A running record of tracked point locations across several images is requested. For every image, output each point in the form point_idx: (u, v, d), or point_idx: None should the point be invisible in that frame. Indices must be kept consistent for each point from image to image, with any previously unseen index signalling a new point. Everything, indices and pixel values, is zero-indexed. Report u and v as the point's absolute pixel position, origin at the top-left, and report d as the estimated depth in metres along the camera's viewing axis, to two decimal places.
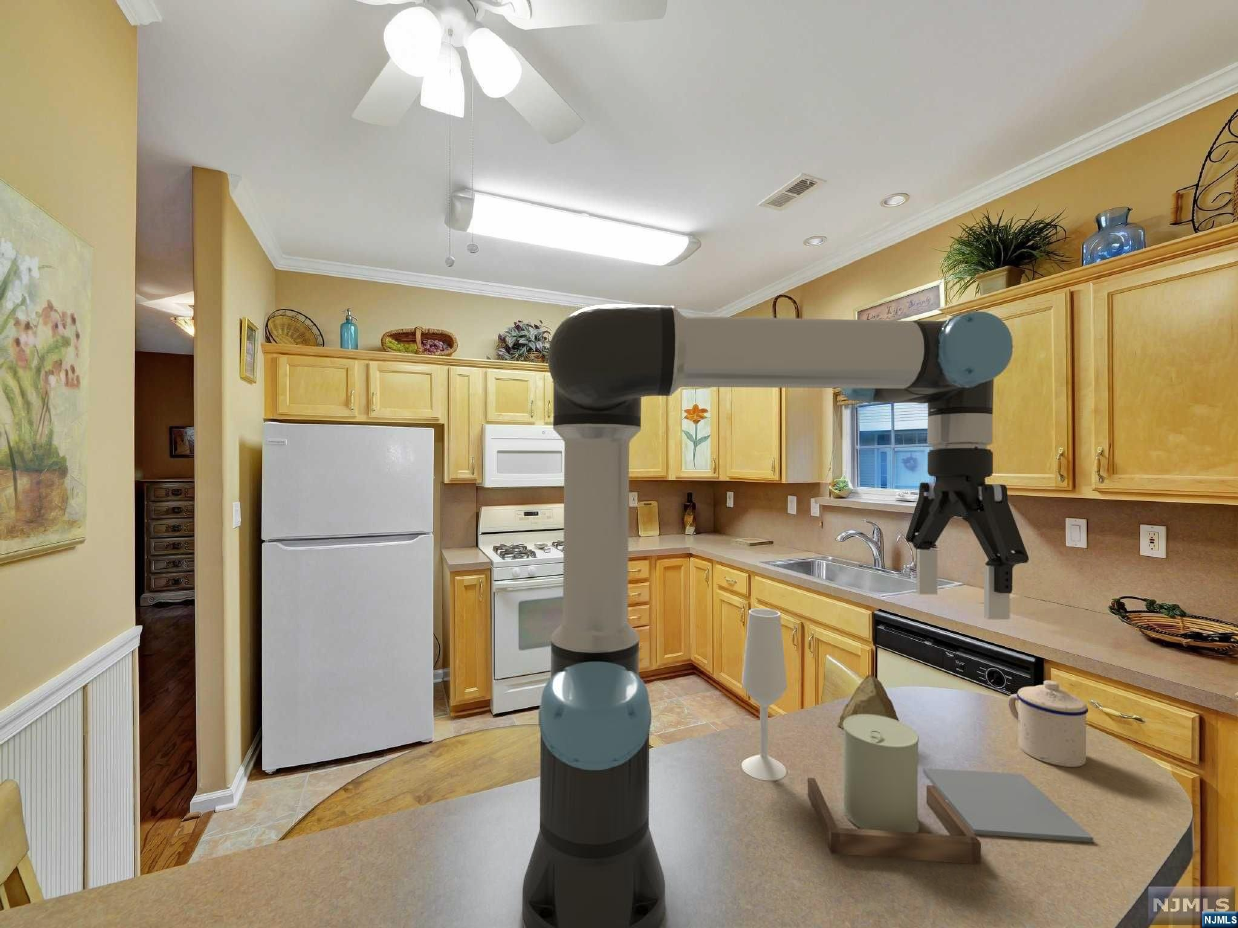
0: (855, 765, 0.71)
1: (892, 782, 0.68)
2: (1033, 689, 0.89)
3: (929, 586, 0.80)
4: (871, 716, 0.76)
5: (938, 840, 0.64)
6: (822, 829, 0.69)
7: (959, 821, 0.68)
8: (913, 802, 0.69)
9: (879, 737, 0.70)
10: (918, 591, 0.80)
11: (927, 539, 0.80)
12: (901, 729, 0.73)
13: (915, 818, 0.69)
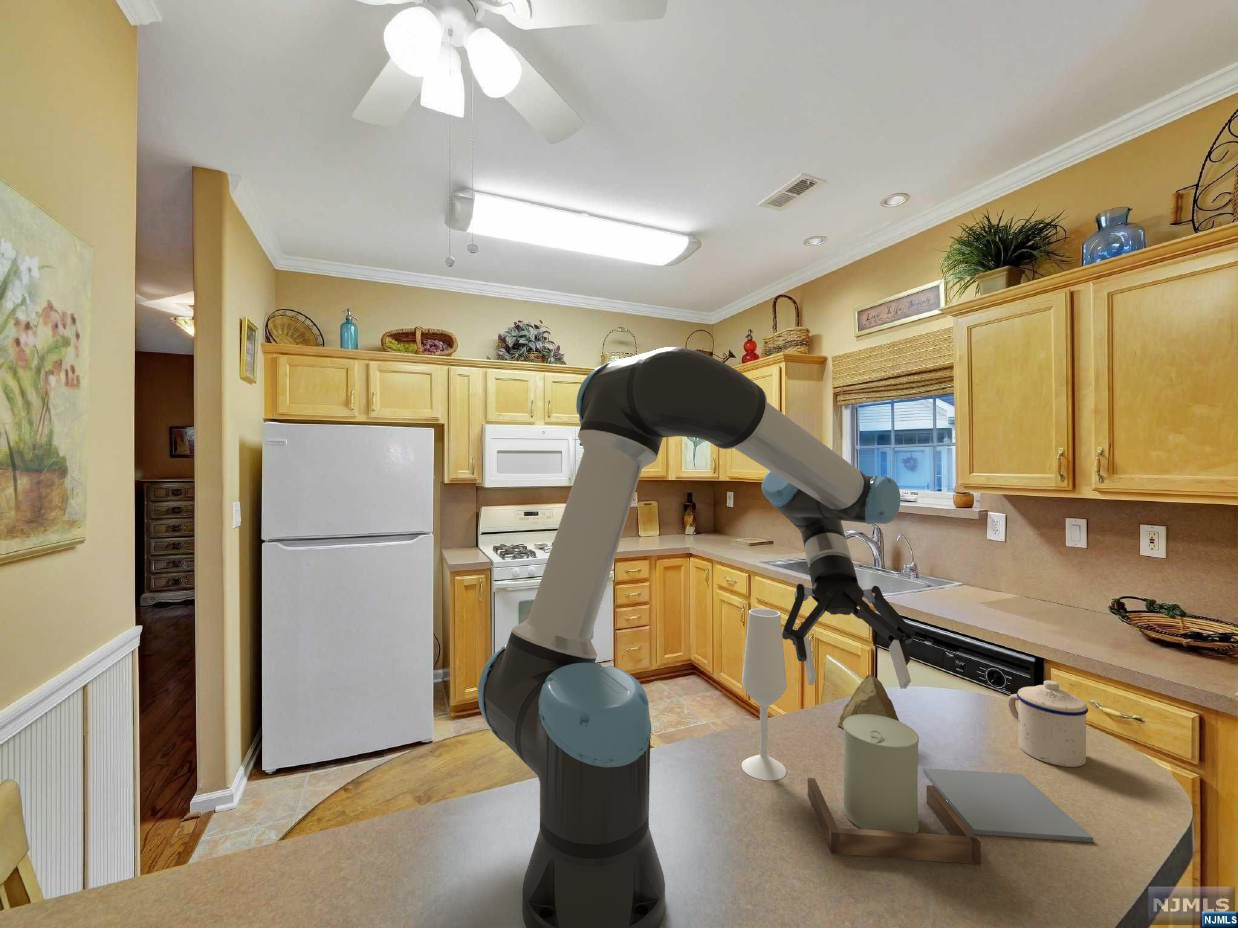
0: (855, 765, 0.71)
1: (892, 782, 0.68)
2: (1033, 689, 0.89)
3: None
4: (871, 716, 0.76)
5: (938, 840, 0.64)
6: (822, 829, 0.69)
7: (959, 821, 0.68)
8: (913, 802, 0.69)
9: (879, 737, 0.70)
10: (814, 674, 0.82)
11: (807, 630, 0.88)
12: (901, 729, 0.73)
13: (915, 818, 0.69)
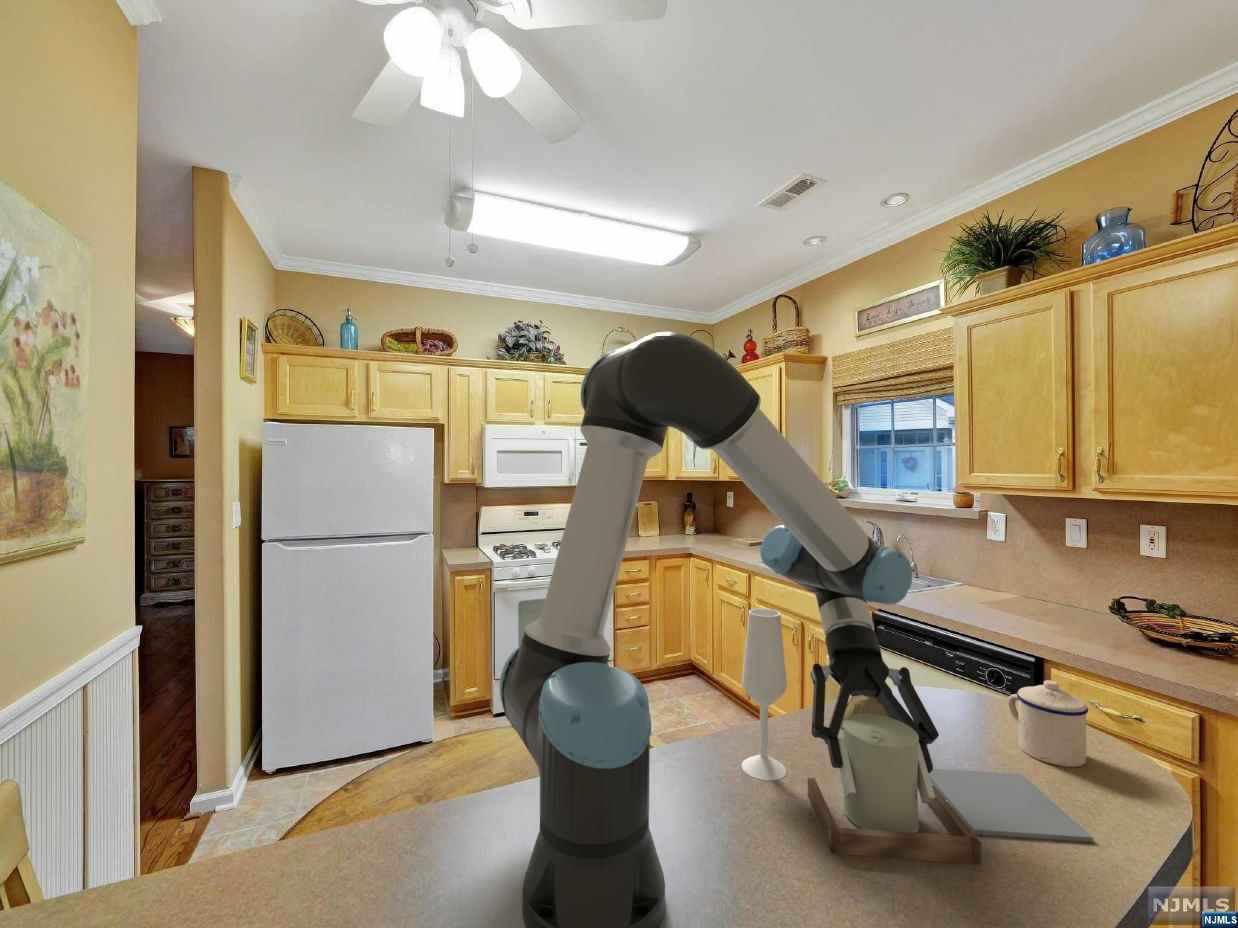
0: (855, 765, 0.71)
1: (892, 782, 0.68)
2: (1033, 689, 0.89)
3: None
4: (871, 716, 0.76)
5: (938, 840, 0.64)
6: (822, 829, 0.69)
7: (959, 821, 0.68)
8: (913, 802, 0.69)
9: (879, 737, 0.70)
10: (853, 789, 0.69)
11: None
12: (901, 729, 0.73)
13: (915, 818, 0.69)
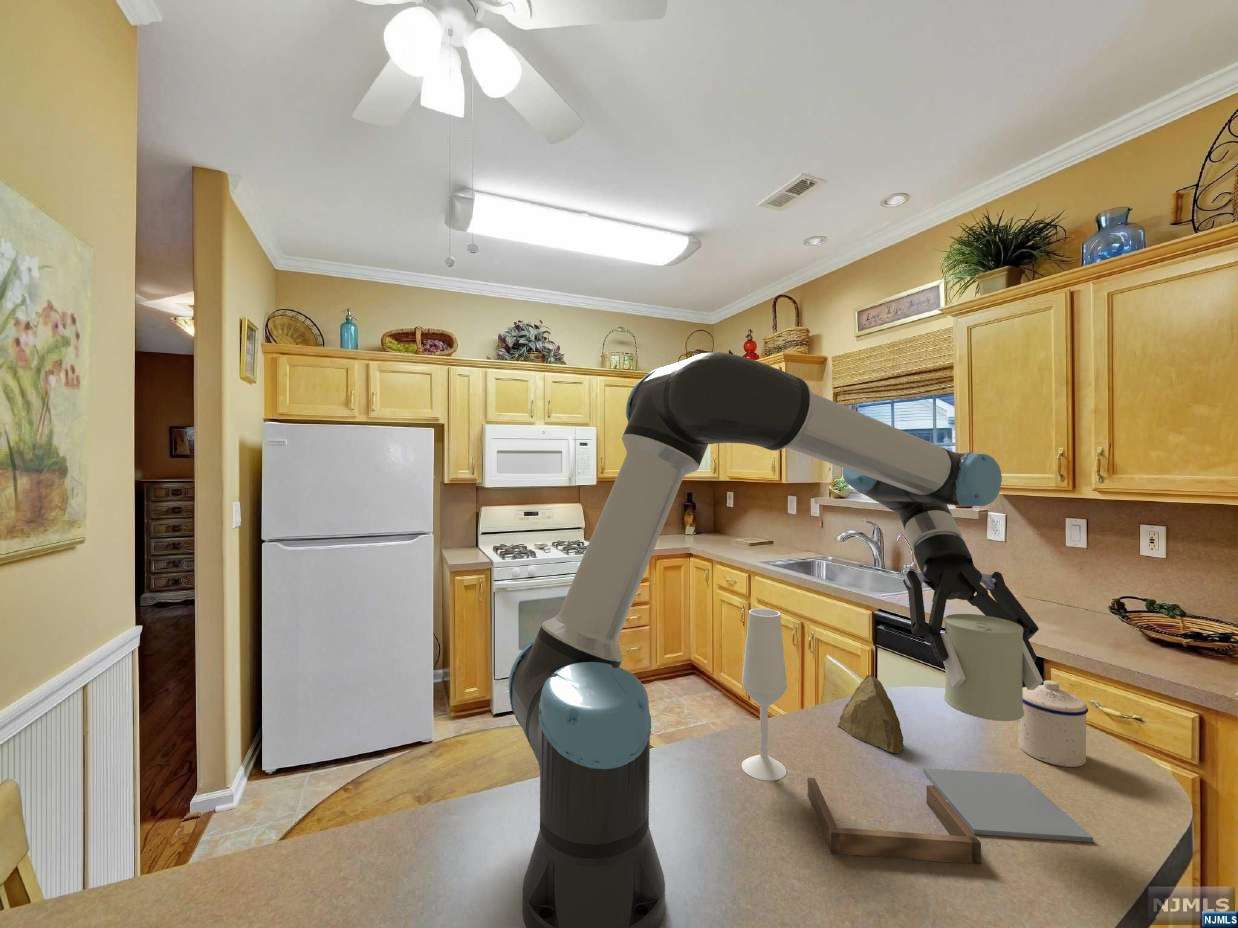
0: (961, 655, 0.73)
1: (1001, 667, 0.71)
2: None
3: None
4: (969, 615, 0.79)
5: (938, 840, 0.64)
6: (822, 829, 0.69)
7: (959, 821, 0.68)
8: (1020, 687, 0.72)
9: (985, 626, 0.73)
10: (962, 676, 0.72)
11: None
12: (1002, 622, 0.75)
13: (1021, 703, 0.72)
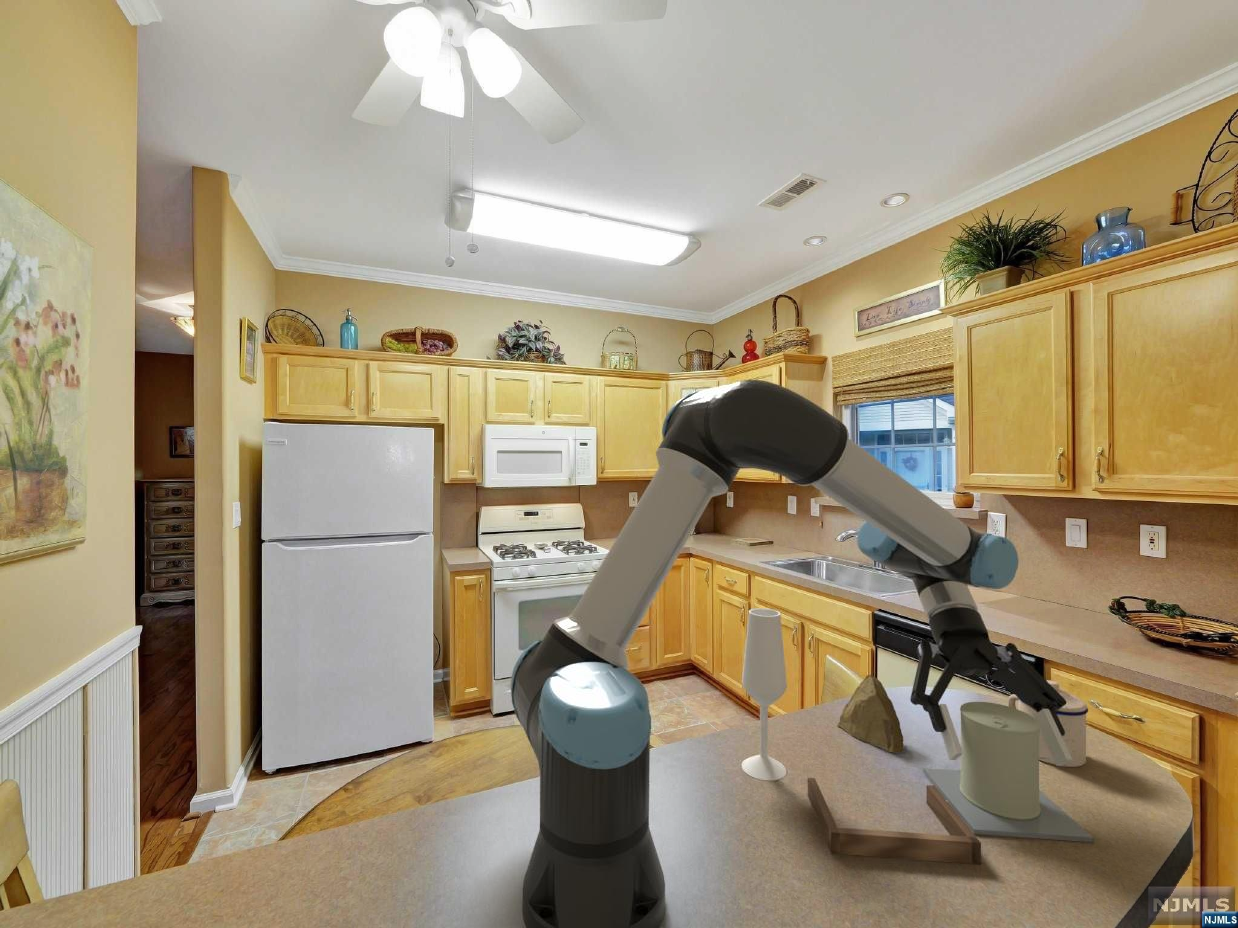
0: (978, 750, 0.74)
1: (1018, 765, 0.71)
2: None
3: None
4: (984, 703, 0.79)
5: (938, 840, 0.64)
6: (822, 829, 0.69)
7: (959, 821, 0.68)
8: (1037, 785, 0.72)
9: (1002, 722, 0.73)
10: (960, 750, 0.73)
11: None
12: (1019, 715, 0.76)
13: (1038, 800, 0.72)
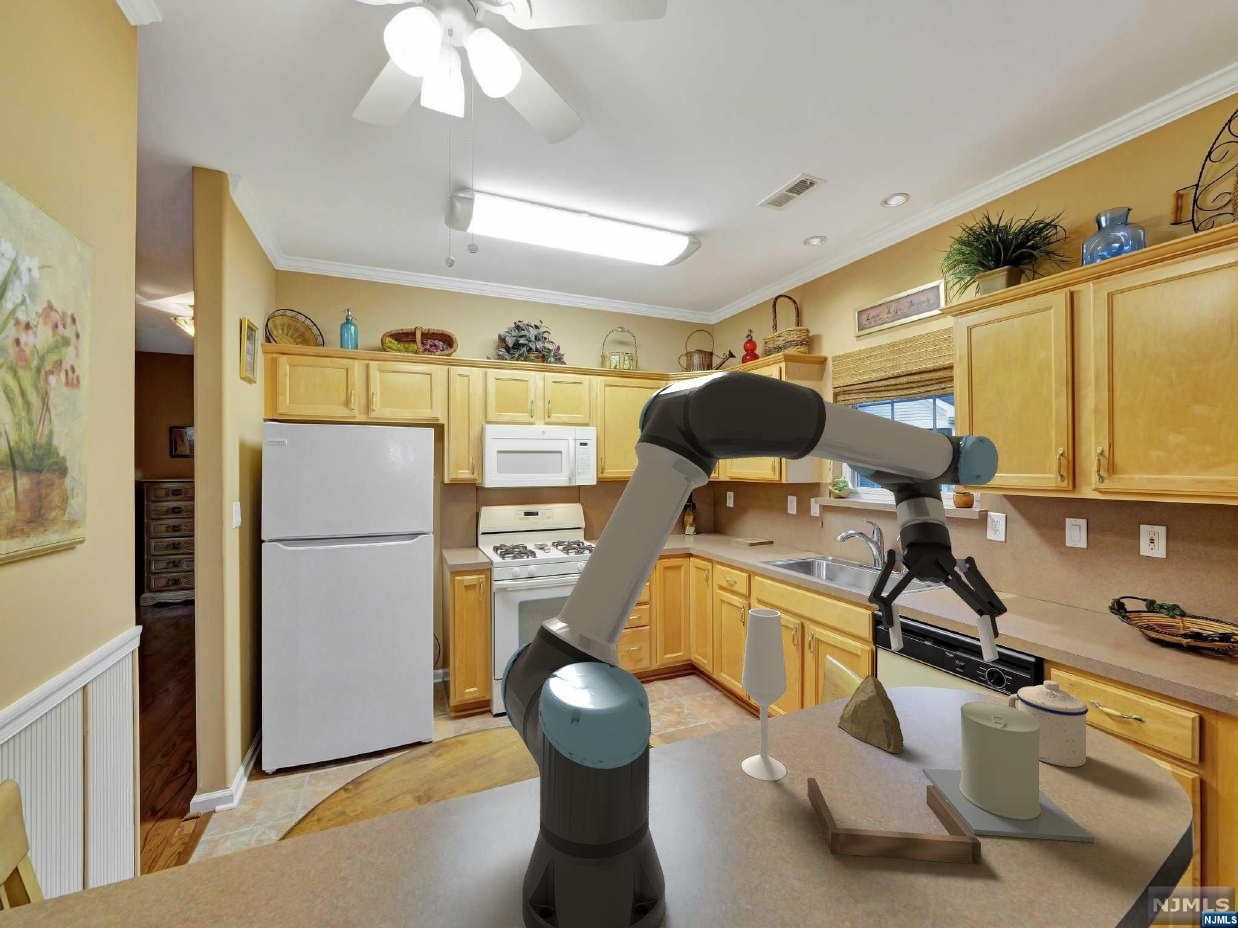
0: (978, 750, 0.74)
1: (1018, 765, 0.71)
2: (1033, 689, 0.89)
3: None
4: (985, 703, 0.79)
5: (938, 840, 0.64)
6: (822, 829, 0.69)
7: (959, 821, 0.68)
8: (1037, 785, 0.72)
9: (1002, 722, 0.73)
10: (901, 644, 0.84)
11: None
12: (1019, 715, 0.76)
13: (1038, 800, 0.72)
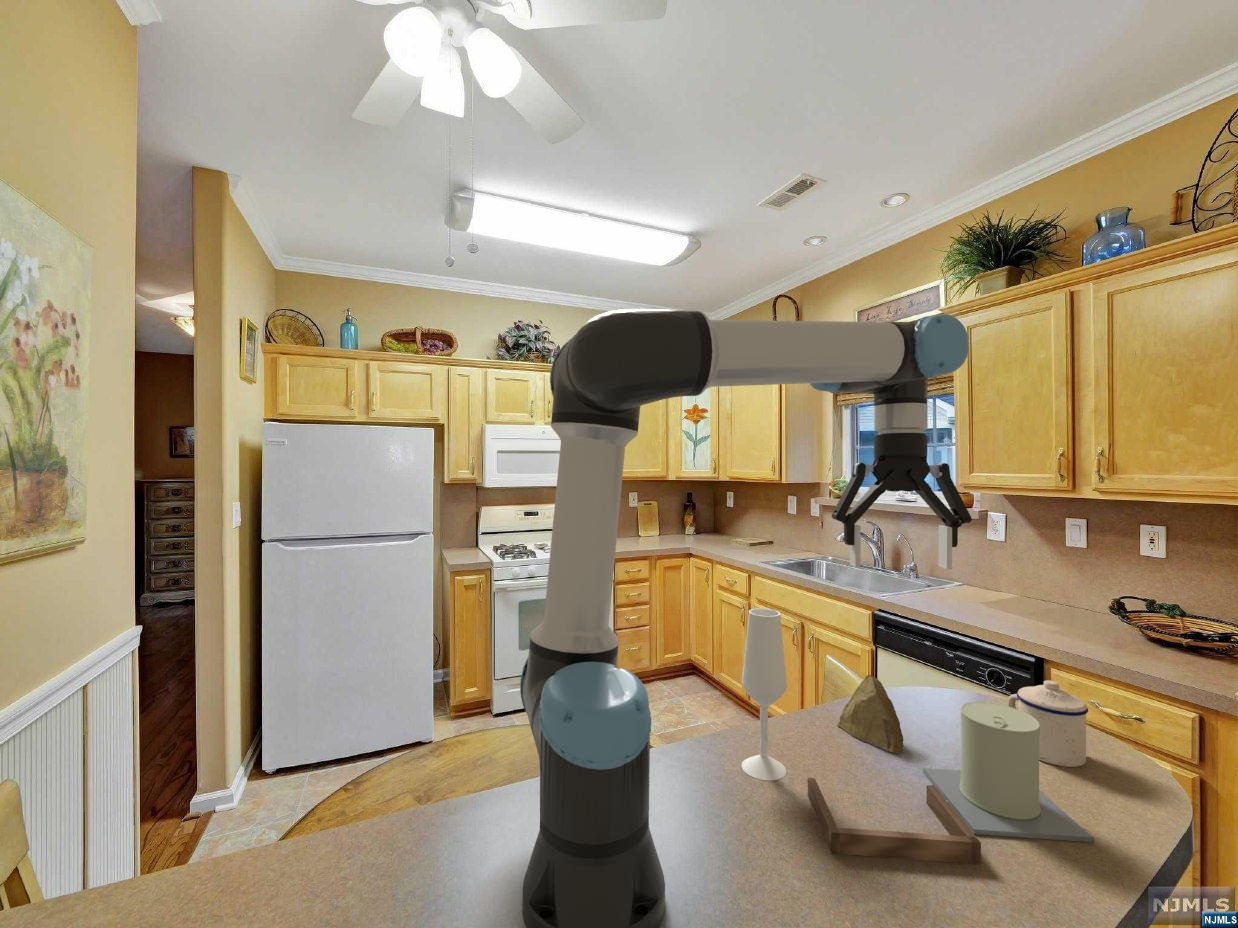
0: (978, 750, 0.74)
1: (1018, 765, 0.71)
2: (1033, 689, 0.89)
3: None
4: (984, 703, 0.79)
5: (938, 840, 0.64)
6: (822, 829, 0.69)
7: (959, 821, 0.68)
8: (1037, 785, 0.72)
9: (1002, 722, 0.73)
10: (858, 564, 0.85)
11: None
12: (1019, 715, 0.76)
13: (1038, 800, 0.72)
